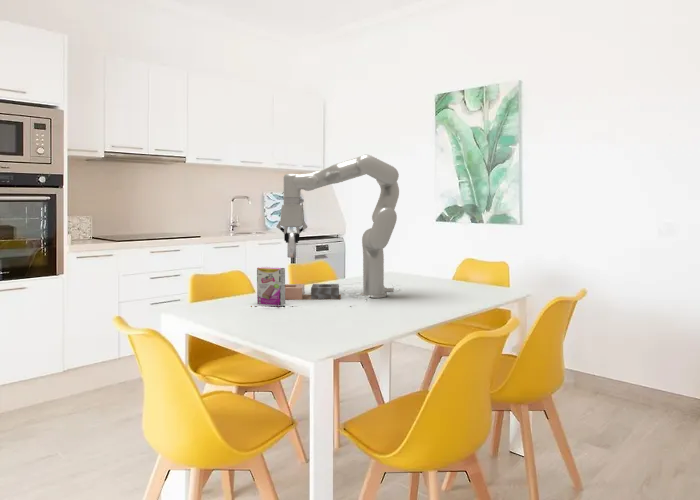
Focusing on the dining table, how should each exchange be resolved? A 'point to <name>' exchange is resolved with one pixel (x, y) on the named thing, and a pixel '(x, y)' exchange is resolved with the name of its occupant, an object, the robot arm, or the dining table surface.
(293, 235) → the pin
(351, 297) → the dining table surface
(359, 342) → the dining table surface
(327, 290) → the mount board
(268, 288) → the candy bar box
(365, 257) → the robot arm
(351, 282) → the dining table surface
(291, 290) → the socket block
